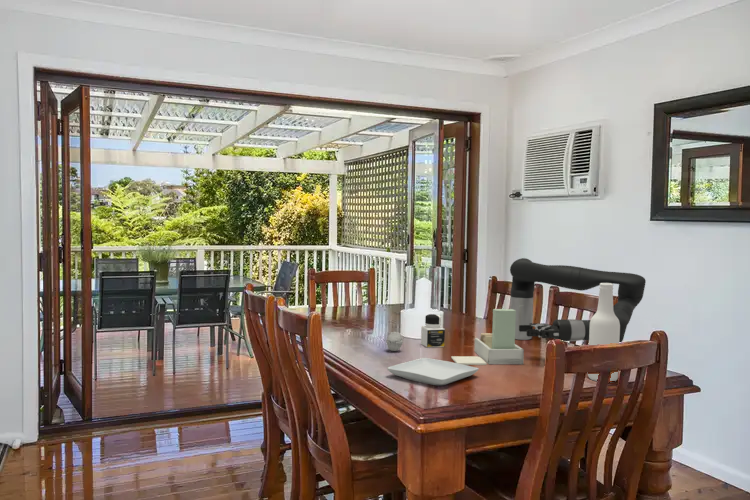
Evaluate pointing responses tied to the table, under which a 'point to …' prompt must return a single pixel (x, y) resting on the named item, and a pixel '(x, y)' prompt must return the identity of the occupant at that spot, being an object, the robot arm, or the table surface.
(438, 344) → the medicine bottle
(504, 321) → the board
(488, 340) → the offcut upper
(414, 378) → the salad plate
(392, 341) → the frog figurine
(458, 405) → the table surface
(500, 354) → the tray
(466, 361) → the pad
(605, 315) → the alcohol
